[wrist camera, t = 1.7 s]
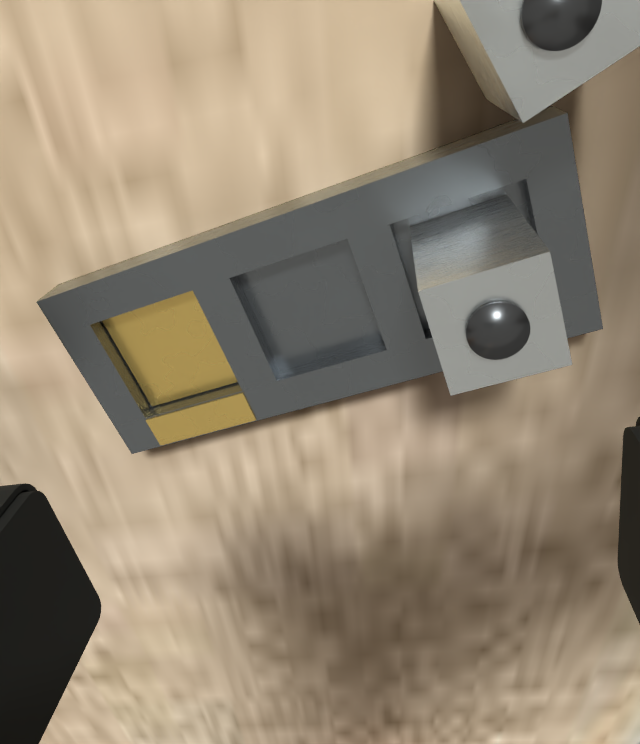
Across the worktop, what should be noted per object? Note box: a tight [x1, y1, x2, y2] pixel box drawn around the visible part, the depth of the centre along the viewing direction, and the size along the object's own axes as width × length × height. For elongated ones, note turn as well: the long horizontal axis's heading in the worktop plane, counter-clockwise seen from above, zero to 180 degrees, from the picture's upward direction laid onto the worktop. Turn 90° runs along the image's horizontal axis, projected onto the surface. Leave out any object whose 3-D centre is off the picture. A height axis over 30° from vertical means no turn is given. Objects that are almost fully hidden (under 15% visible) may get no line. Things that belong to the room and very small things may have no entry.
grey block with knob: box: [410, 195, 572, 396], centre depth 25 cm, size 4×4×8 cm
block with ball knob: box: [434, 0, 640, 123], centre depth 21 cm, size 4×4×8 cm
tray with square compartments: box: [37, 106, 603, 454], centre depth 30 cm, size 26×10×2 cm, turn 110°
